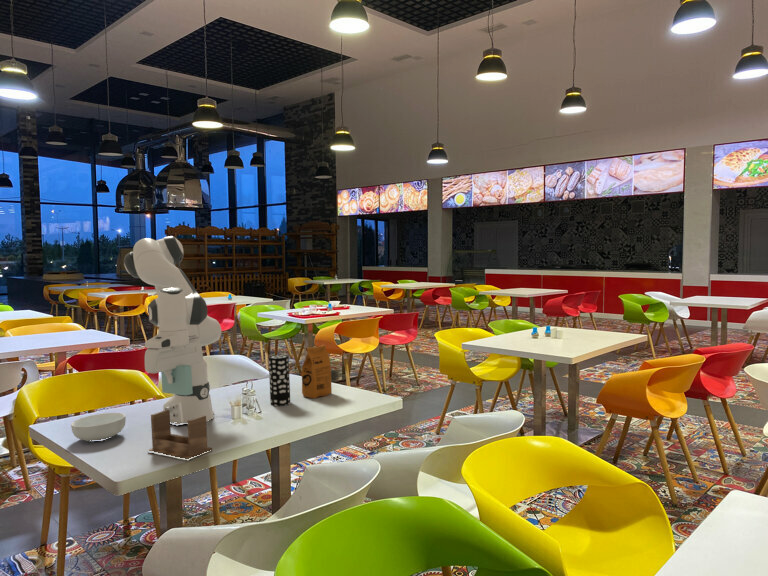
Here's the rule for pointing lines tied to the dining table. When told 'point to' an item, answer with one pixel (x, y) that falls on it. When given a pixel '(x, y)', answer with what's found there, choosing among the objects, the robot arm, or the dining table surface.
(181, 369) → the door panel
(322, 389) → the coffee package
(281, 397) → the spotted tube
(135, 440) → the dining table surface
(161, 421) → the wooden u-shaped stand
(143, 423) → the dining table surface
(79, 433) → the cereal bowl
